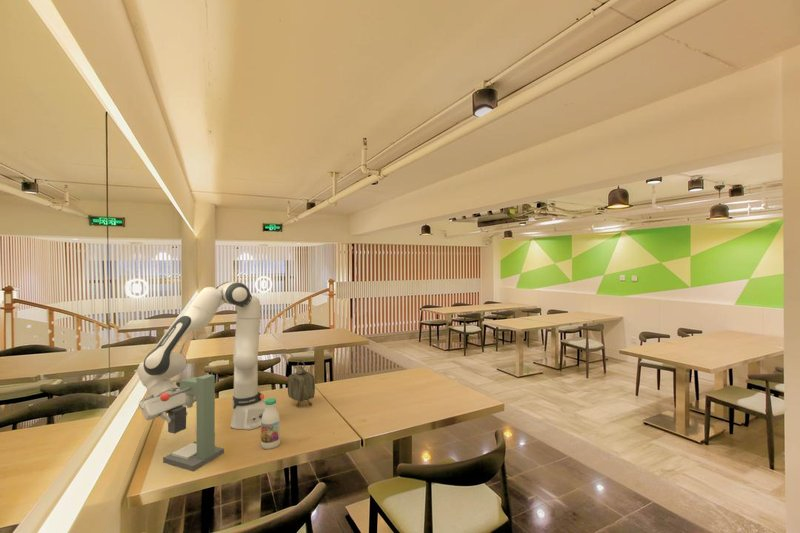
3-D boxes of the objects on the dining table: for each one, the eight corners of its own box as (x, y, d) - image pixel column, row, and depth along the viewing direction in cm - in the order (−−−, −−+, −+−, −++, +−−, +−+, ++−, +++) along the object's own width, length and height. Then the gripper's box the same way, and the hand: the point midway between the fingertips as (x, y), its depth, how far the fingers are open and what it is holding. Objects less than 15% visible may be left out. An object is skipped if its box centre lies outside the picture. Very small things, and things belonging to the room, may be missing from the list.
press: (143, 472, 132) (143, 383, 132) (195, 445, 152) (194, 368, 152) (174, 482, 126) (174, 388, 126) (224, 453, 146) (223, 372, 146)
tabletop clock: (315, 405, 196) (314, 361, 196) (301, 410, 189) (300, 364, 189) (300, 399, 205) (300, 357, 205) (286, 404, 198) (286, 360, 198)
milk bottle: (264, 441, 156) (264, 396, 156) (281, 440, 156) (281, 395, 156) (258, 450, 148) (258, 403, 148) (277, 449, 149) (277, 402, 149)
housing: (179, 426, 149) (179, 406, 149) (186, 428, 148) (186, 407, 148) (168, 432, 144) (168, 410, 144) (174, 433, 143) (174, 411, 143)
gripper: (140, 396, 139) (156, 424, 135) (188, 380, 158) (203, 405, 154) (133, 405, 141) (149, 434, 137) (181, 389, 160) (196, 413, 156)
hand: (178, 418), depth 146 cm, fingers closed on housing, 5 cm apart
